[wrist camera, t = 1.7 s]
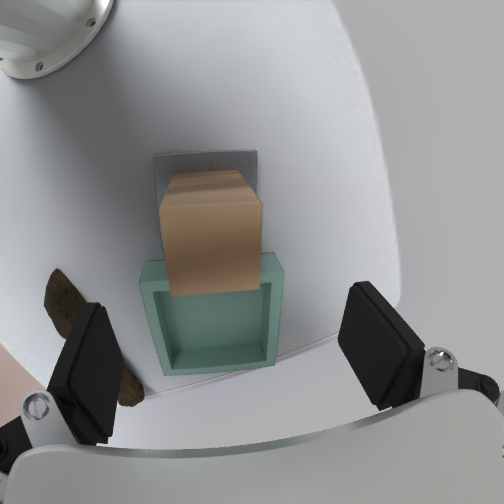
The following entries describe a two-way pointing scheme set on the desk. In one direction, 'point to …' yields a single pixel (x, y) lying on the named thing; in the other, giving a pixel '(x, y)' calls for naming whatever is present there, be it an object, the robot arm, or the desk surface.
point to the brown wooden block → (211, 233)
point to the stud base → (202, 167)
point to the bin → (213, 322)
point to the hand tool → (64, 316)
